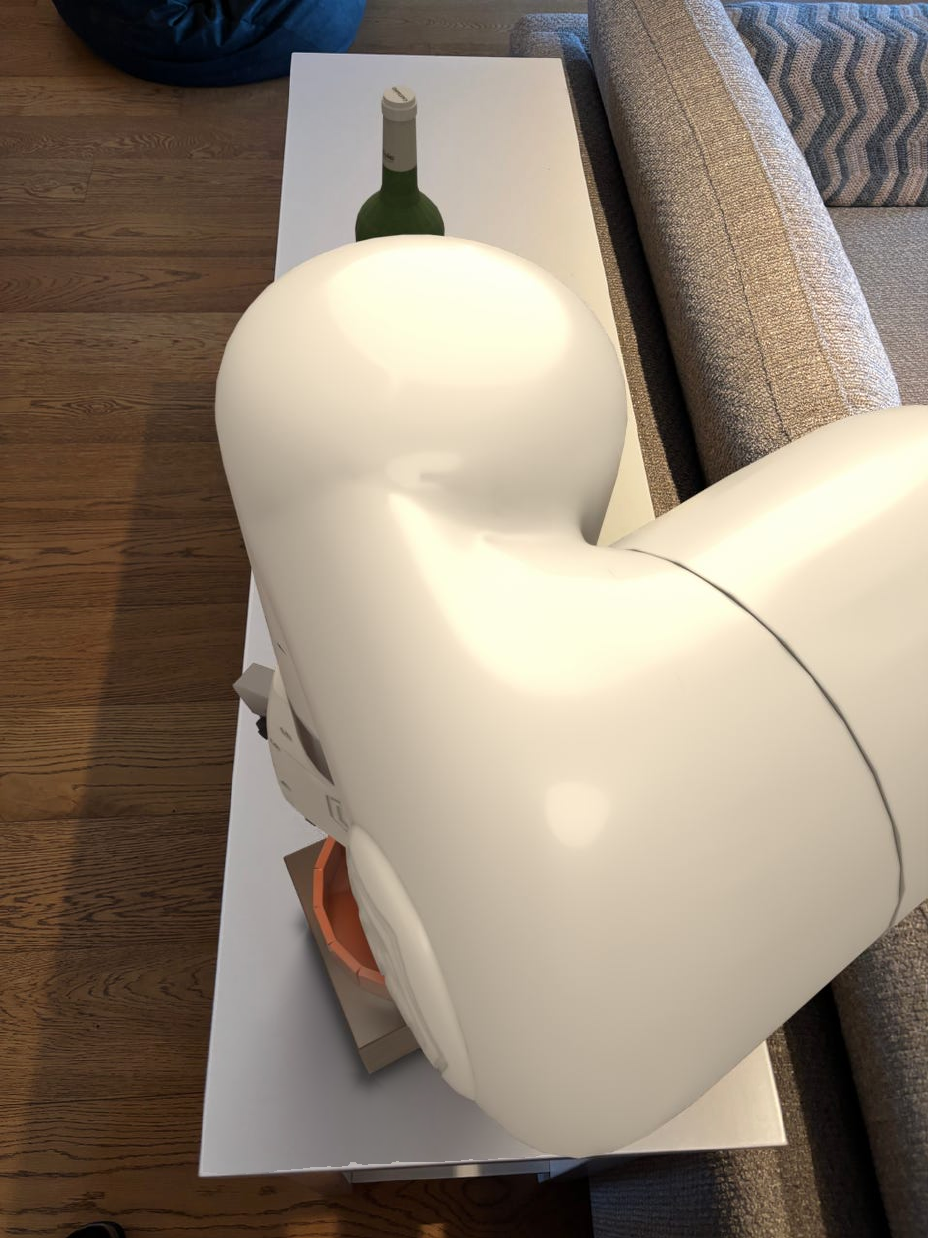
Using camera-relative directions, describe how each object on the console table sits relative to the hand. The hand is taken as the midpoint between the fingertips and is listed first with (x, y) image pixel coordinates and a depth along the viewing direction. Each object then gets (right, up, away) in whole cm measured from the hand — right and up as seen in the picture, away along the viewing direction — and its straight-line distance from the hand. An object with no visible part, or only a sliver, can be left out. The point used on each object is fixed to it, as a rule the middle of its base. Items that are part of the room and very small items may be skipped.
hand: (418, 857), depth 39 cm
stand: (-2, -14, +24) cm, 27 cm away
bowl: (-1, -5, +9) cm, 10 cm away
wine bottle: (-5, +36, +53) cm, 64 cm away
